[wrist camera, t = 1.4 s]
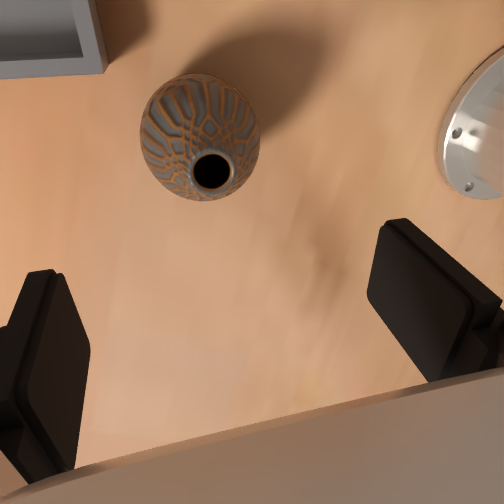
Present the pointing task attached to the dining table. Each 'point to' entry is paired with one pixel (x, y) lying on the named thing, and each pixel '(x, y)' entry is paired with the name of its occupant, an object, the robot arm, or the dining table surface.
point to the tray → (50, 39)
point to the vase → (199, 137)
